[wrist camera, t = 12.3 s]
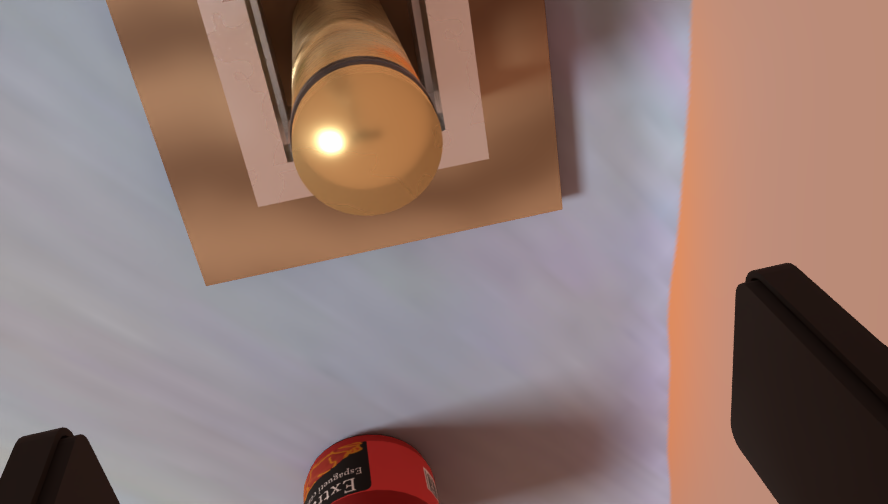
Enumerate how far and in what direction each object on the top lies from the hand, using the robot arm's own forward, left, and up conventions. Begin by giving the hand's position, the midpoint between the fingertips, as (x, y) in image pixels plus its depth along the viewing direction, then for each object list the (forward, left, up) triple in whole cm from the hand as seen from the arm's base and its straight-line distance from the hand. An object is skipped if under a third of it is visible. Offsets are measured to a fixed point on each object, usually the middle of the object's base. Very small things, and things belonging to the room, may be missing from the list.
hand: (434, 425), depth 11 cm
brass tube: (0, 0, -26) cm, 26 cm away
